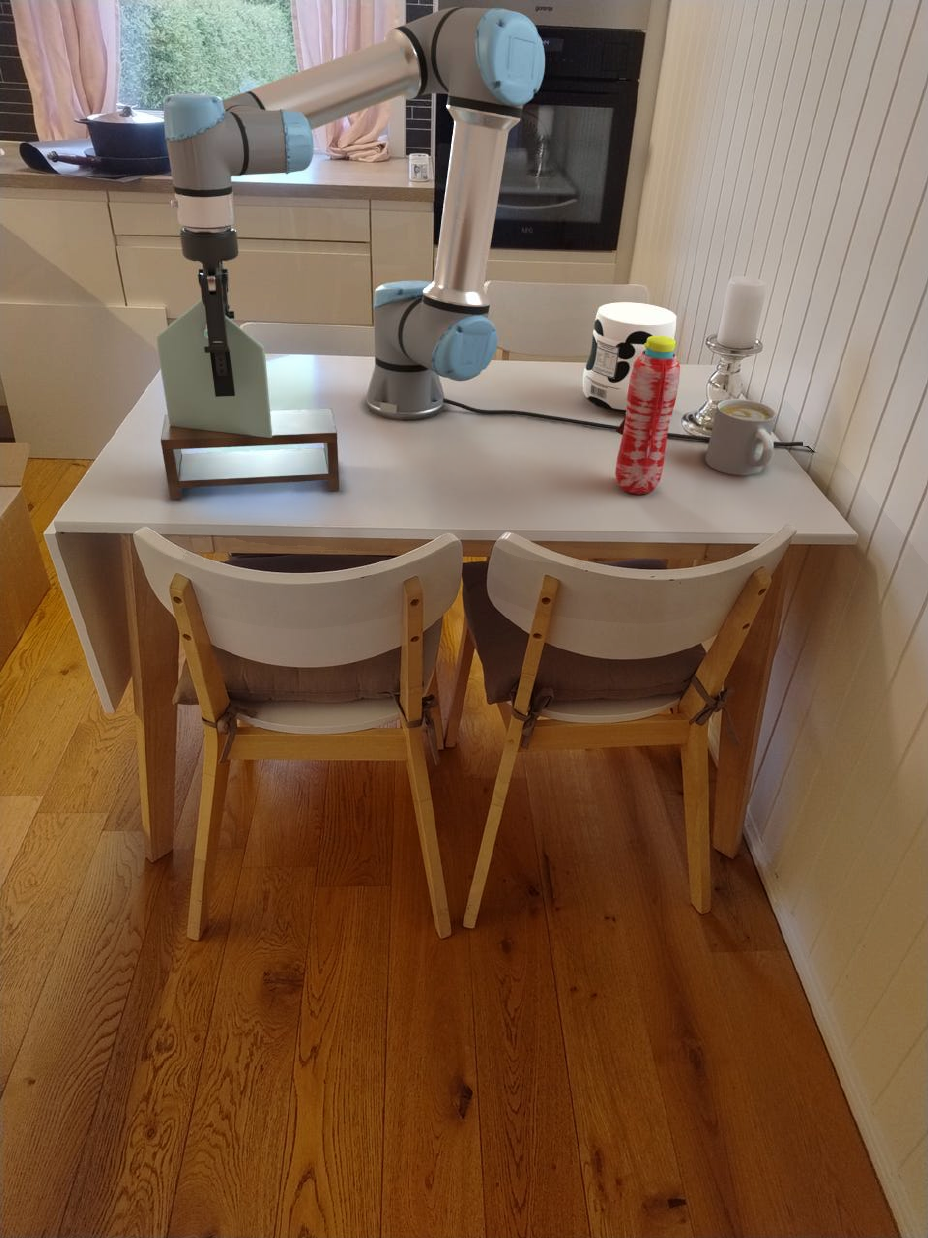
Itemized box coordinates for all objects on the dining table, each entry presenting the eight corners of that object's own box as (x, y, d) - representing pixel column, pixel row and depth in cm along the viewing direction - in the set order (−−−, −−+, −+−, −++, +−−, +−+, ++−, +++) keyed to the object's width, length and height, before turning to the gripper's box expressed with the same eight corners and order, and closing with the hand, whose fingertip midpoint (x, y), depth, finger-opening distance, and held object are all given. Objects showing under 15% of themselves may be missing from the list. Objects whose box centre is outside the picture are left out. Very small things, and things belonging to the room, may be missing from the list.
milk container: (665, 393, 183) (681, 305, 172) (666, 424, 169) (684, 330, 158) (582, 384, 185) (593, 296, 174) (577, 414, 171) (588, 321, 160)
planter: (289, 418, 138) (279, 289, 126) (271, 438, 131) (259, 303, 120) (191, 407, 139) (172, 278, 128) (169, 426, 133) (147, 292, 122)
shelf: (334, 464, 148) (331, 408, 142) (339, 491, 140) (337, 432, 134) (174, 472, 143) (165, 414, 137) (170, 500, 135) (160, 439, 129)
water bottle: (605, 467, 152) (627, 321, 137) (650, 469, 152) (677, 323, 137) (615, 499, 142) (639, 345, 127) (664, 501, 142) (694, 348, 128)
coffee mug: (697, 451, 159) (708, 398, 153) (749, 451, 160) (762, 398, 154) (724, 484, 148) (737, 429, 142) (779, 483, 149) (795, 428, 143)
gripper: (183, 208, 128) (202, 351, 140) (173, 248, 108) (196, 411, 120) (236, 208, 129) (250, 350, 141) (235, 247, 109) (252, 409, 122)
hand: (225, 378), depth 131 cm, fingers open, 13 cm apart
